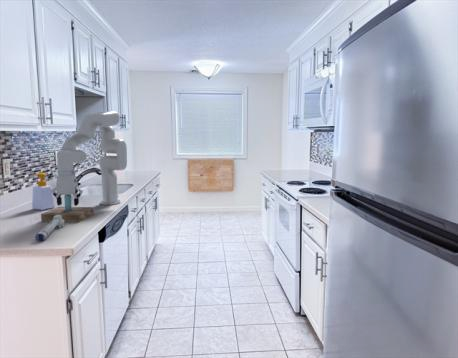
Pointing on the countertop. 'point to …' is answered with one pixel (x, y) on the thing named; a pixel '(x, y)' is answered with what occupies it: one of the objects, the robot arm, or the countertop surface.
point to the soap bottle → (42, 195)
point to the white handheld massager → (50, 228)
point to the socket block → (68, 214)
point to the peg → (68, 203)
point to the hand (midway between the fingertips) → (68, 205)
